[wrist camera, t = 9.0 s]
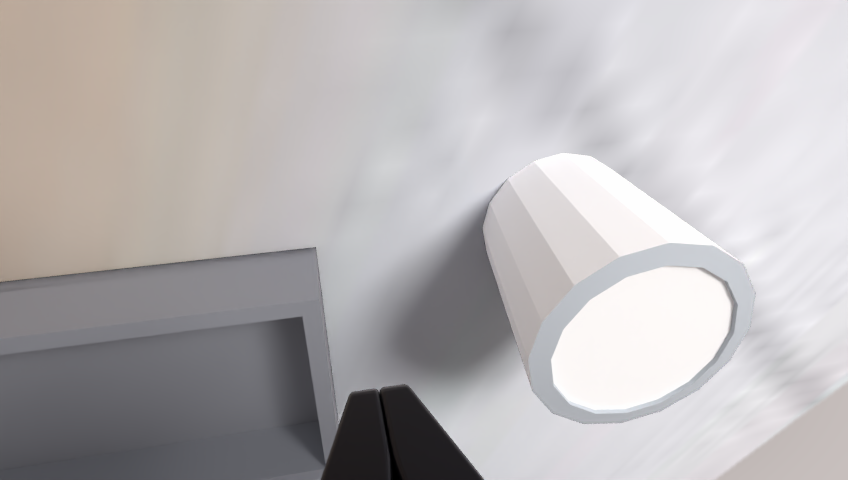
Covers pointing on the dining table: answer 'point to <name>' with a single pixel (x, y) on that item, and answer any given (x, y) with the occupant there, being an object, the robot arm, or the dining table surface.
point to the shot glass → (610, 291)
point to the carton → (168, 372)
